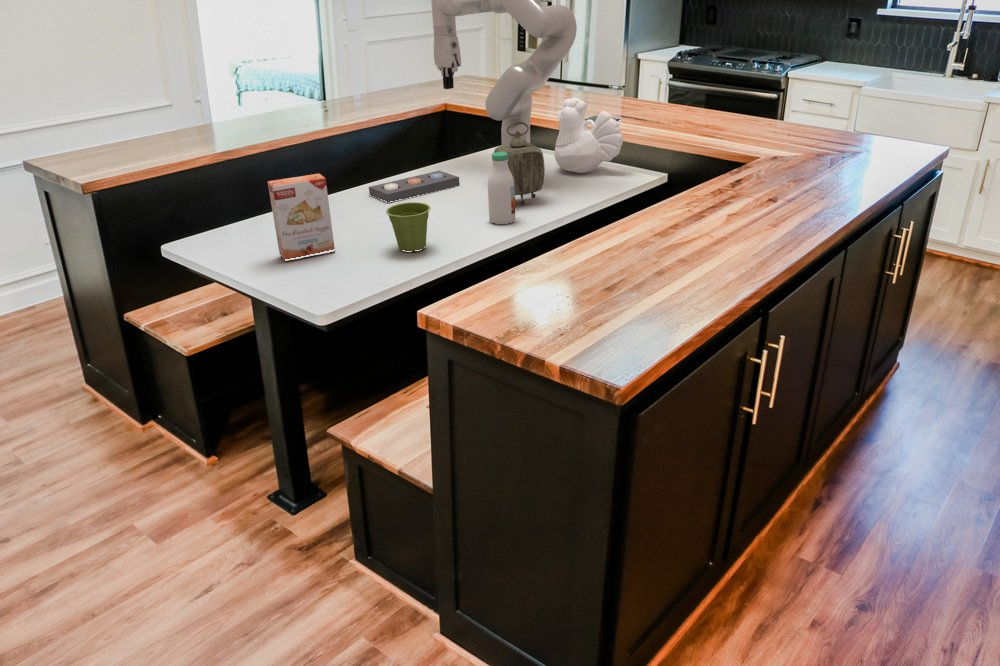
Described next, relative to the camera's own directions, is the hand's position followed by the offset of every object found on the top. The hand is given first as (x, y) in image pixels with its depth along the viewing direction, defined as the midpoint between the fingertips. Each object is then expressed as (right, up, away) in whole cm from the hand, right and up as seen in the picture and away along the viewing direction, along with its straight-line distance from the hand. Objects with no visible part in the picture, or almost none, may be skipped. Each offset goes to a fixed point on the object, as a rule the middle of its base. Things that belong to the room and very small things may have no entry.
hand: (448, 88), depth 271 cm
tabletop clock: (+24, -44, -24) cm, 55 cm away
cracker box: (-34, -63, -58) cm, 92 cm away
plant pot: (-6, -61, -57) cm, 84 cm away
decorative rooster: (+48, -28, +5) cm, 56 cm away
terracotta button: (-11, -36, -7) cm, 38 cm away
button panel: (-11, -36, -7) cm, 38 cm away
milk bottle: (+18, -51, -39) cm, 67 cm away
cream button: (-18, -38, -12) cm, 44 cm away
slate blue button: (-4, -33, -2) cm, 33 cm away
